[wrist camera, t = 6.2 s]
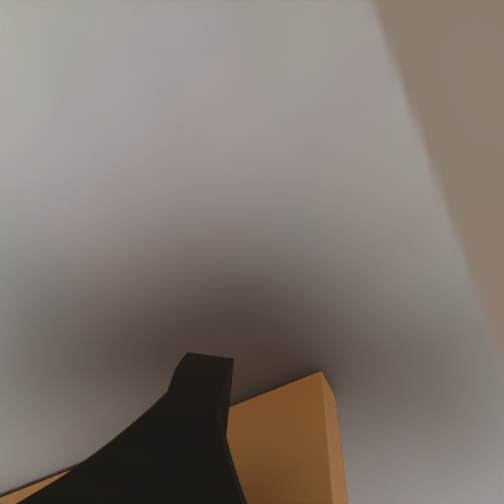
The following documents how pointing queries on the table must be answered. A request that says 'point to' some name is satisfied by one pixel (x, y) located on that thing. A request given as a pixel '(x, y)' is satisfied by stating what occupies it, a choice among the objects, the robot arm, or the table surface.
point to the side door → (279, 447)
